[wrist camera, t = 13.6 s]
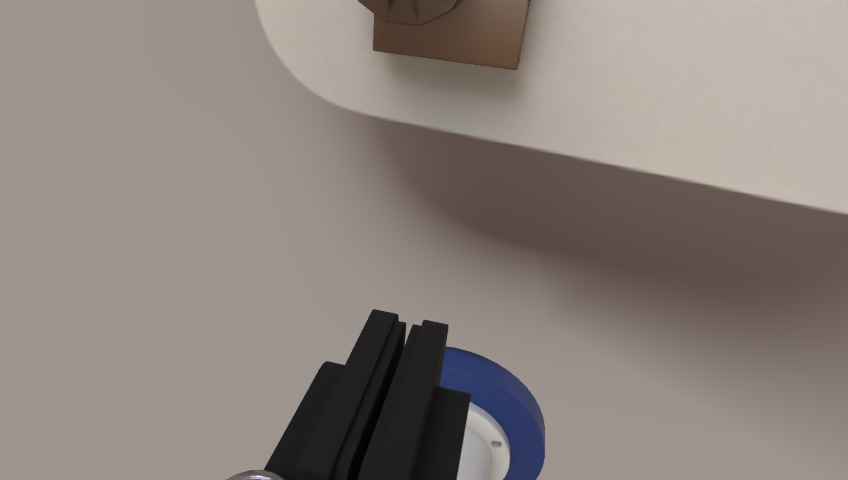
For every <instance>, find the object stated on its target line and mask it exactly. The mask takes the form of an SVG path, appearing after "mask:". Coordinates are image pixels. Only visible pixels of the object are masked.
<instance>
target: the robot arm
mask: <svg viewBox="0 0 848 480" xmlns="http://www.w3.org/2000/svg"><path fill="white" fill-rule="evenodd" d="M447 333H448V324H443V323H438V322H433V321H428V320H424V321H423V323H422V326H419V325H414V324H413V326H412V328H411V331H410V333H409V336H408V339H407V341H406V344H405V334H406V323H405V322H400V321H398V314H395V313H390V312H384V311H380V310H375V309H374V310H372V312H371V314H370V316H369V318H368V320H367V322H366V324H365V326H364V328H363V330H362V332H361V334H360V336H359V338H358V340H357V342H356V344H355V346H354V348H353V350H352V352H351V354H350V356H349V358H348V360H347V362H346V364H345V365H342V364H337V363H333V362H327V361H326V362H325V363H323V365H322V366H321V368H320V369H319V371H318V373H317V374H316V376H315V378H314V380H313V382H312V384H311V385H310V387H309V389H308V391H307V393H306V395H305V396H304V398H303V400H302V402H301V404H300V405H299V407H298V409H297V411H296V412H295V415H294V416H293V418H292V420H291V421H290V423H289V425H288V427H287V429H286V431H285V432H284V434H283V436H282V438H281V440H280V441H279V443H278V445H277V447H276V449H275V450H274V452H273V454H272V456H271V458H270V459H269V461H268V463H267V465H266V467H265V468H264V470H250V471H246V472H243V473H239V474H237V475H234V476H232V477H231V478H229V479H227V480H503V479H504V478H505V476H506V474H507V472H508V469H509V464H510V444H509V441H508V437H507V435H506V434H505V432H504V430H503V428H502V427H501V426H500V424H499V423H498V422H497V421H496V420H495V419H494V418H493V417H492V416H491V415H490V414H488V413H487V412H486V411H485V410H483V409H482V408H480V407H478V406H477V405H475V404H473V403H472V402H470V398H471V393H467V392H462V391H458V390H453V389H449V388H444V387H440V380H441V374H442V367H443V360H444V353H445V347H446V340H447ZM404 345H405V347H404Z"/></svg>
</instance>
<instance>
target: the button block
mask: <svg viewBox="0 0 848 480" xmlns="http://www.w3.org/2000/svg"><path fill="white" fill-rule="evenodd" d="M358 1H359V2H360V3H361V4H363V5H364V6H365V7H366V8H368V9H369V10H370V11H371V12H373V13H374V35H373V50H374V51H379V52H386V53H393V54H401V55H408V56H416V57H423V58H430V59H438V60H445V61H453V62H460V63H467V64H475V65H482V66H490V67H497V68H504V69H512V70H517V69H518V65H519V61H520V55H521V50H522V44H523V39H524V33H525V28H526V22H527V16H528V11H529V5H530V0H358Z"/></svg>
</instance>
